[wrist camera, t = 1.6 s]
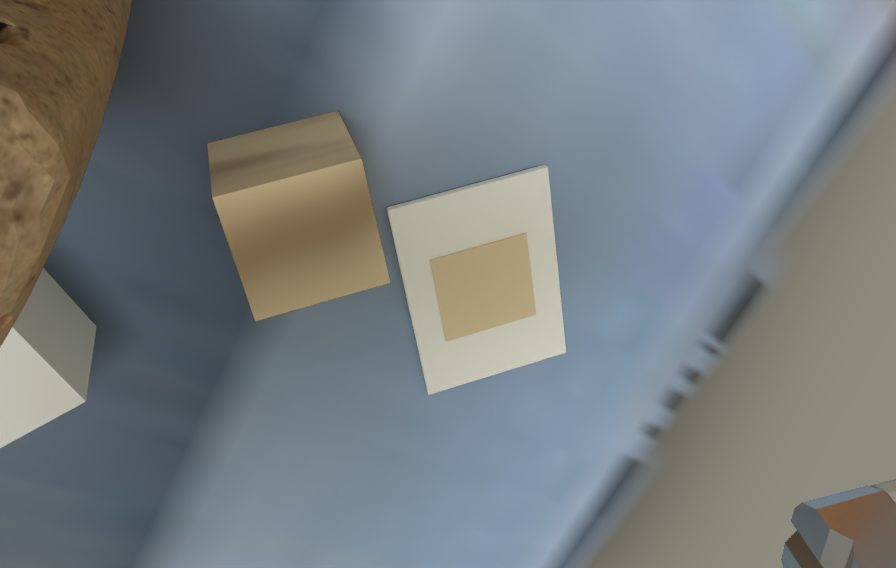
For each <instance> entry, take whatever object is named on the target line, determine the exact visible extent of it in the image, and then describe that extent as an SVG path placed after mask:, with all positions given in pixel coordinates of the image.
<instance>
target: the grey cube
mask: <svg viewBox="0 0 896 568" xmlns="http://www.w3.org/2000/svg"><path fill="white" fill-rule="evenodd" d="M96 327H97V326H96V325H95V324H94V323H93V322H92V321H91V320H90V319H89V318H88V317H87V315H86V314H85V313H84V312H83V311H82V310H81V309H80V308H79V307H78V305H77V304H76V303H75V302H74V301H73V300H72V299H71V298H70V297H69V296H68V294H67V293H66V292H65V291H64V290H63V289H62V288H61V287H60V286H59V285H58V283H57V282H56V281H55V280H54V279H53V278H52V277H51V276H50V275H49V274H48V272H47V271H46V270H45V269H44V268H43V269H42V271H41V274H40V276H39V278H38V280H37V282H36V284H35V286H34V289H33V291H32V293H31V295H30V297H29V299H28V300H27V302H26V304H25V306H24V308H23V309H22V311H21V313H20V315H19V316H18V318H17V320H16V321H15V323H14V325H13V327H12V328H11V330H10V332H9V334H8V335H7V337H6V339H5V341H4V342H3V344H2V345H1V347H0V448H1V447H3V446H5V445H7V444H9V443H11V442H13V441H14V440H16V439H18V438H20V437H22V436H24V435H25V434H27V433H29V432H31V431H33V430H35V429H36V428H38V427H40V426H42V425H44V424H46V423H47V422H49V421H51V420H53V419H55V418H57V417H58V416H60V415H62V414H64V413H66V412H68V411H69V410H71V409H73V408H75V407H77V406H79V405H80V404H82V403H84V402H86V397H87V390H88V383H89V376H90V369H91V362H92V355H93V348H94V341H95V334H96Z"/></svg>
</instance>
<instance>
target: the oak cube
mask: <svg viewBox="0 0 896 568" xmlns="http://www.w3.org/2000/svg"><path fill="white" fill-rule="evenodd" d="M207 145H208V156H209V167H210V178H211V189H212V198H213V201H214V204H215V207H216V210H217V213H218V215H219V218H220V221H221V224H222V227H223V230H224V233H225V235H226V238H227V241H228V244H229V247H230V250H231V253H232V256H233V258H234V261H235V264H236V267H237V270H238V273H239V276H240V278H241V281H242V284H243V287H244V290H245V293H246V296H247V299H248V301H249V304H250V307H251V310H252V313H253V316H254V319H255V321H258V320H262V319H265V318H269V317H272V316H276V315H279V314H283V313H287V312H290V311H294V310H297V309H301V308H304V307H308V306H311V305H315V304H318V303H322V302H325V301H329V300H332V299H336V298H339V297H343V296H346V295H350V294H353V293H357V292H360V291H364V290H367V289H371V288H374V287H378V286H381V285H385V284H388V283H390V279H389V274H388V270H387V266H386V261H385V257H384V253H383V248H382V244H381V240H380V235H379V231H378V227H377V223H376V218H375V214H374V210H373V205H372V201H371V197H370V192H369V188H368V184H367V179H366V175H365V171H364V166H363V162H362V158H361V156H360V154H359V152H358V150H357V148H356V146H355V144H354V142H353V140H352V138H351V136H350V134H349V132H348V130H347V128H346V126H345V124H344V122H343V120H342V118H341V116H340V114H339V112H338V111H334V112H330V113H326V114H322V115H318V116H314V117H310V118H306V119H302V120H298V121H294V122H290V123H286V124H282V125H278V126H274V127H270V128H266V129H262V130H258V131H254V132H250V133H246V134H242V135H238V136H234V137H230V138H226V139H223V140H219V141H215V142H211V143H207Z"/></svg>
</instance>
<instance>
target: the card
mask: <svg viewBox="0 0 896 568" xmlns="http://www.w3.org/2000/svg"><path fill="white" fill-rule="evenodd" d="M386 209H387V213H388V218H389V222H390V227H391V231H392V236H393V240H394V245H395V249H396V254H397V258H398V263H399V267H400V272H401V276H402V281H403V285H404V290H405V294H406V299H407V303H408V308H409V312H410V317H411V321H412V326H413V330H414V335H415V339H416V344H417V348H418V353H419V357H420V362H421V366H422V371H423V375H424V380H425V384H426V389H427V392H428V395H430V394H433V393H437V392H440V391H443V390H446V389H450V388H453V387H456V386H459V385H463V384H466V383H469V382H472V381H476V380H479V379H482V378H485V377H489V376H492V375H495V374H498V373H502V372H505V371H508V370H511V369H515V368H518V367H521V366H524V365H528V364H531V363H534V362H537V361H541V360H544V359H547V358H550V357H554V356H557V355H560V354H563V353H566V345H565V335H564V325H563V315H562V305H561V295H560V285H559V274H558V264H557V254H556V244H555V234H554V224H553V214H552V204H551V194H550V183H549V173H548V167H547V166H546V165H541V166H537V167H534V168H530V169H526V170H523V171H519V172H515V173H512V174H508V175H504V176H501V177H497V178H493V179H490V180H486V181H482V182H479V183H475V184H471V185H468V186H464V187H460V188H456V189H453V190H449V191H445V192H442V193H438V194H434V195H431V196H427V197H423V198H420V199H416V200H412V201H409V202H405V203H401V204H398V205H394V206H390V207H387V208H386Z"/></svg>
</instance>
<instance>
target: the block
mask: <svg viewBox="0 0 896 568" xmlns="http://www.w3.org/2000/svg"><path fill="white" fill-rule="evenodd" d="M132 1H133V0H0V347H1V345H2V344H3V342H4V341H5V339H6V337H7V335H8V334H9V332H10V330H11V328H12V327H13V325H14V323H15V321H16V320H17V318H18V316H19V315H20V313H21V311H22V309H23V308H24V306H25V304H26V302H27V300H28V299H29V297H30V295H31V293H32V291H33V289H34V286H35V284H36V282H37V280H38V278H39V276H40V274H41V271H42V269H43V267H44V265H45V263H46V261H47V259H48V256H49V254H50V252H51V250H52V248H53V246H54V243H55V241H56V239H57V237H58V235H59V233H60V231H61V228H62V226H63V224H64V222H65V219H66V217H67V215H68V212H69V210H70V208H71V205H72V203H73V201H74V198H75V196H76V194H77V191H78V189H79V187H80V184H81V181H82V179H83V176H84V173H85V170H86V168H87V165H88V162H89V159H90V157H91V154H92V151H93V148H94V146H95V143H96V140H97V137H98V133H99V130H100V127H101V124H102V121H103V118H104V114H105V110H106V107H107V103H108V99H109V96H110V92H111V89H112V86H113V83H114V79H115V76H116V73H117V70H118V65H119V60H120V55H121V51H122V48H123V44H124V40H125V36H126V30H127V24H128V19H129V14H130V10H131V5H132Z"/></svg>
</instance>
